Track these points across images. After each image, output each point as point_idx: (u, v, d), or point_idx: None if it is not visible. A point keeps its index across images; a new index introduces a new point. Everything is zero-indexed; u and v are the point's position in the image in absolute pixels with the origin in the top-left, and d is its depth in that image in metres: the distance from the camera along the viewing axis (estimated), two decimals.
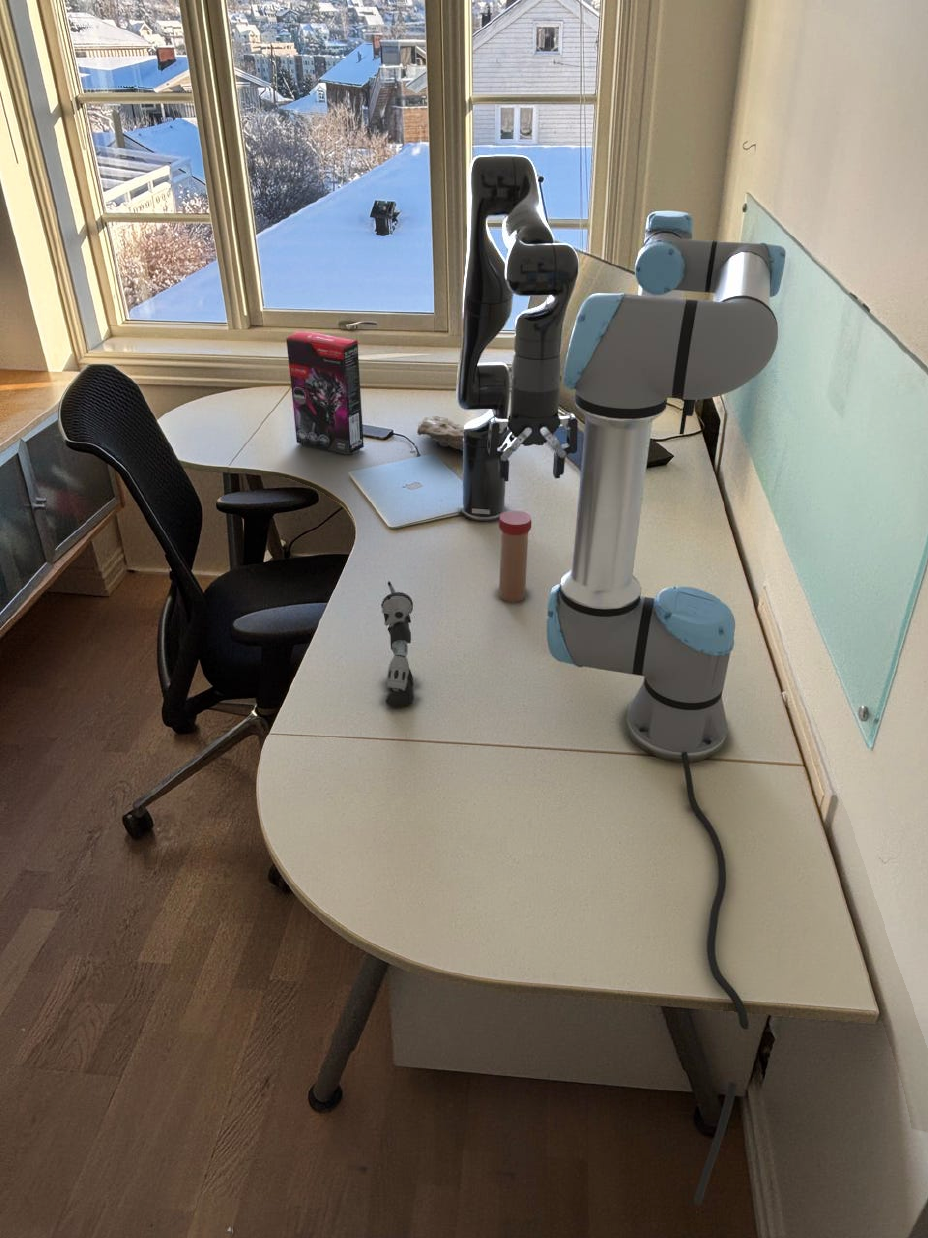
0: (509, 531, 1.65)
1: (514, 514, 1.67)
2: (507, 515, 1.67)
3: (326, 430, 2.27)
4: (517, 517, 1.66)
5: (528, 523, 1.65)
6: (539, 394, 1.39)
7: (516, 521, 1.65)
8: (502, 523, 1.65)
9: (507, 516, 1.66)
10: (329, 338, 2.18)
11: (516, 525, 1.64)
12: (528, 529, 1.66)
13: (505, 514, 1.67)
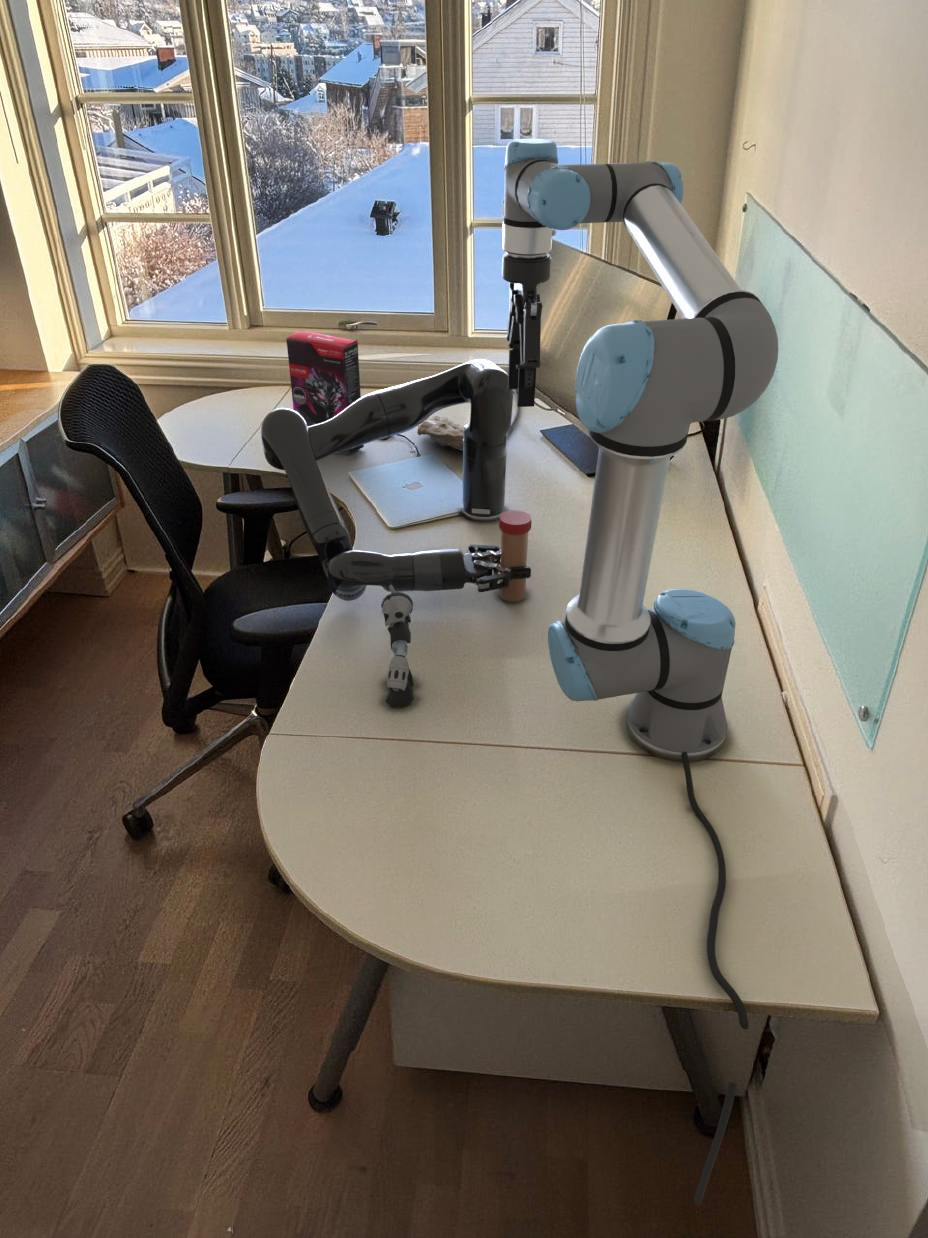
0: (509, 531, 1.65)
1: (514, 514, 1.67)
2: (507, 515, 1.67)
3: None
4: (517, 517, 1.66)
5: (528, 523, 1.65)
6: (440, 552, 1.68)
7: (516, 521, 1.65)
8: (502, 523, 1.65)
9: (507, 516, 1.66)
10: (329, 338, 2.18)
11: (516, 525, 1.64)
12: (528, 529, 1.66)
13: (505, 514, 1.67)
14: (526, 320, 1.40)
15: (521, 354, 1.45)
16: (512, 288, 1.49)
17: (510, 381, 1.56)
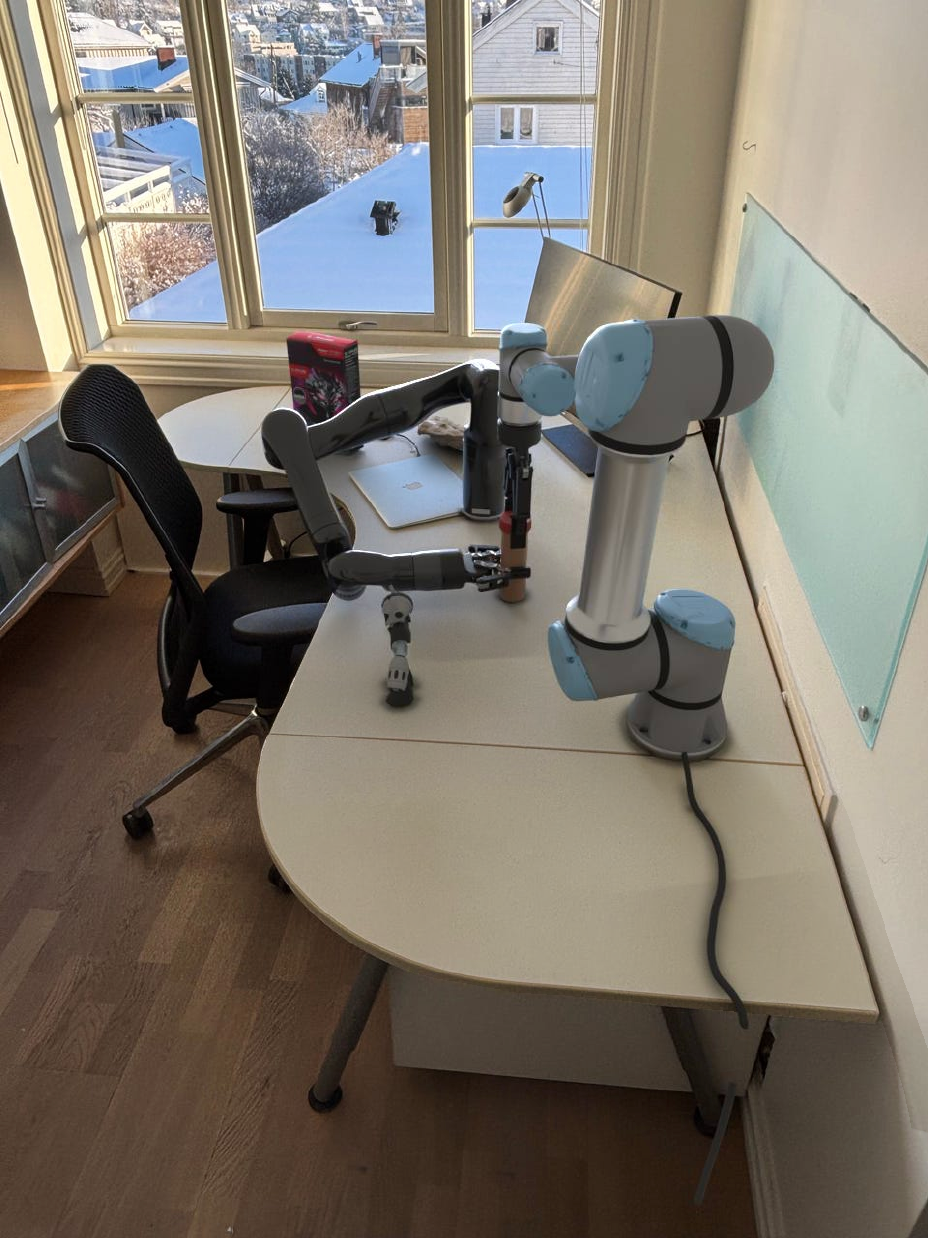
0: (509, 531, 1.65)
1: None
2: (507, 515, 1.67)
3: None
4: None
5: (528, 523, 1.65)
6: (440, 552, 1.68)
7: None
8: (502, 523, 1.65)
9: (507, 516, 1.66)
10: (329, 338, 2.18)
11: None
12: (528, 529, 1.66)
13: (505, 514, 1.67)
14: (518, 481, 1.55)
15: (513, 506, 1.60)
16: None
17: None
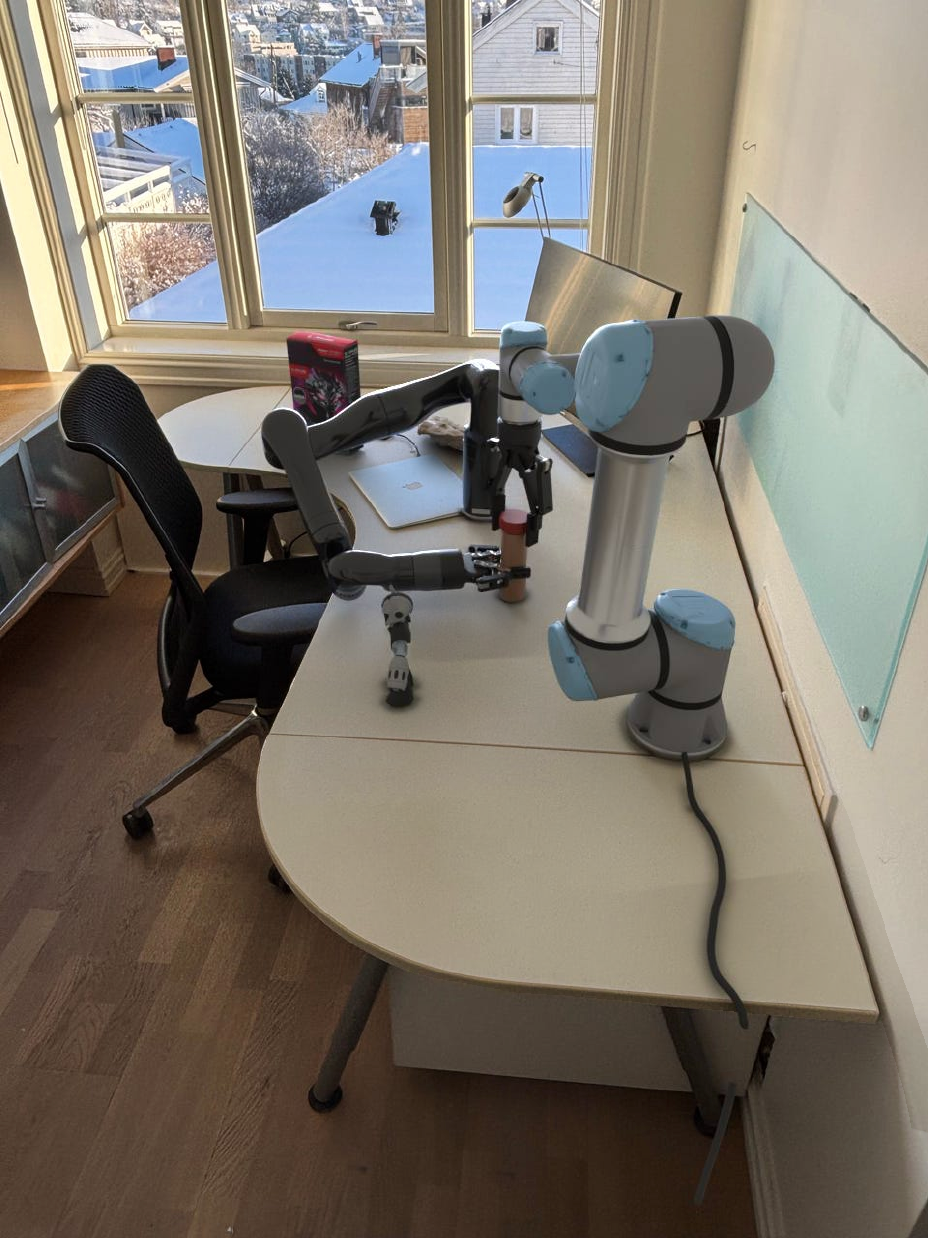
0: None
1: (509, 516, 1.66)
2: (511, 519, 1.65)
3: None
4: (515, 515, 1.66)
5: None
6: (440, 552, 1.68)
7: (524, 516, 1.66)
8: (523, 524, 1.64)
9: (513, 519, 1.65)
10: (329, 338, 2.18)
11: None
12: None
13: (508, 520, 1.65)
14: (542, 476, 1.56)
15: (532, 504, 1.60)
16: (491, 446, 1.62)
17: (495, 524, 1.69)
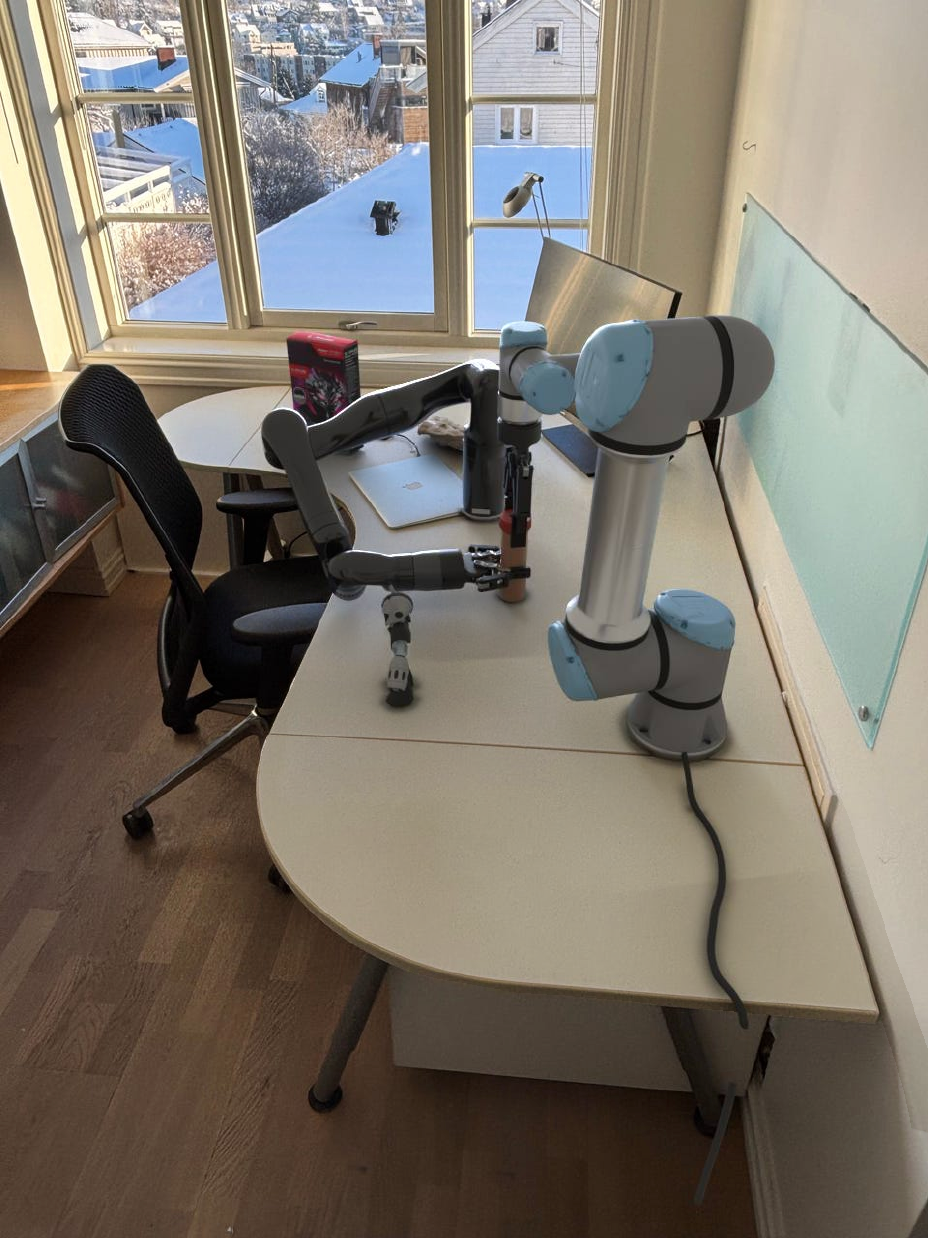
0: (529, 527, 1.66)
1: (509, 516, 1.66)
2: None
3: None
4: None
5: None
6: (440, 552, 1.68)
7: None
8: None
9: None
10: (329, 338, 2.18)
11: (530, 517, 1.66)
12: None
13: (508, 520, 1.65)
14: (519, 480, 1.55)
15: (514, 505, 1.60)
16: None
17: None
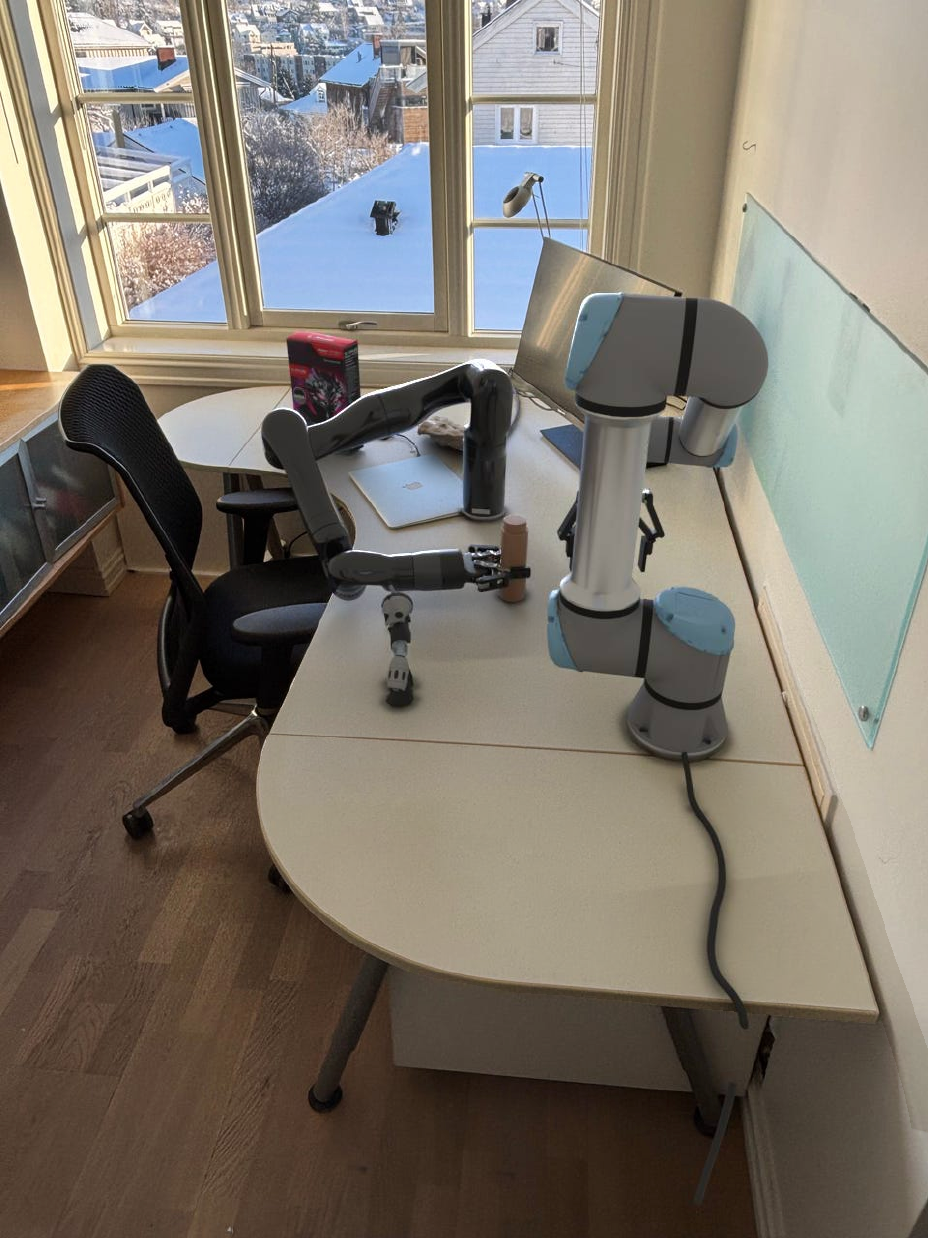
0: None
1: None
2: None
3: None
4: None
5: None
6: (440, 552, 1.68)
7: None
8: None
9: None
10: (329, 338, 2.18)
11: None
12: None
13: None
14: None
15: (648, 532, 1.72)
16: None
17: None
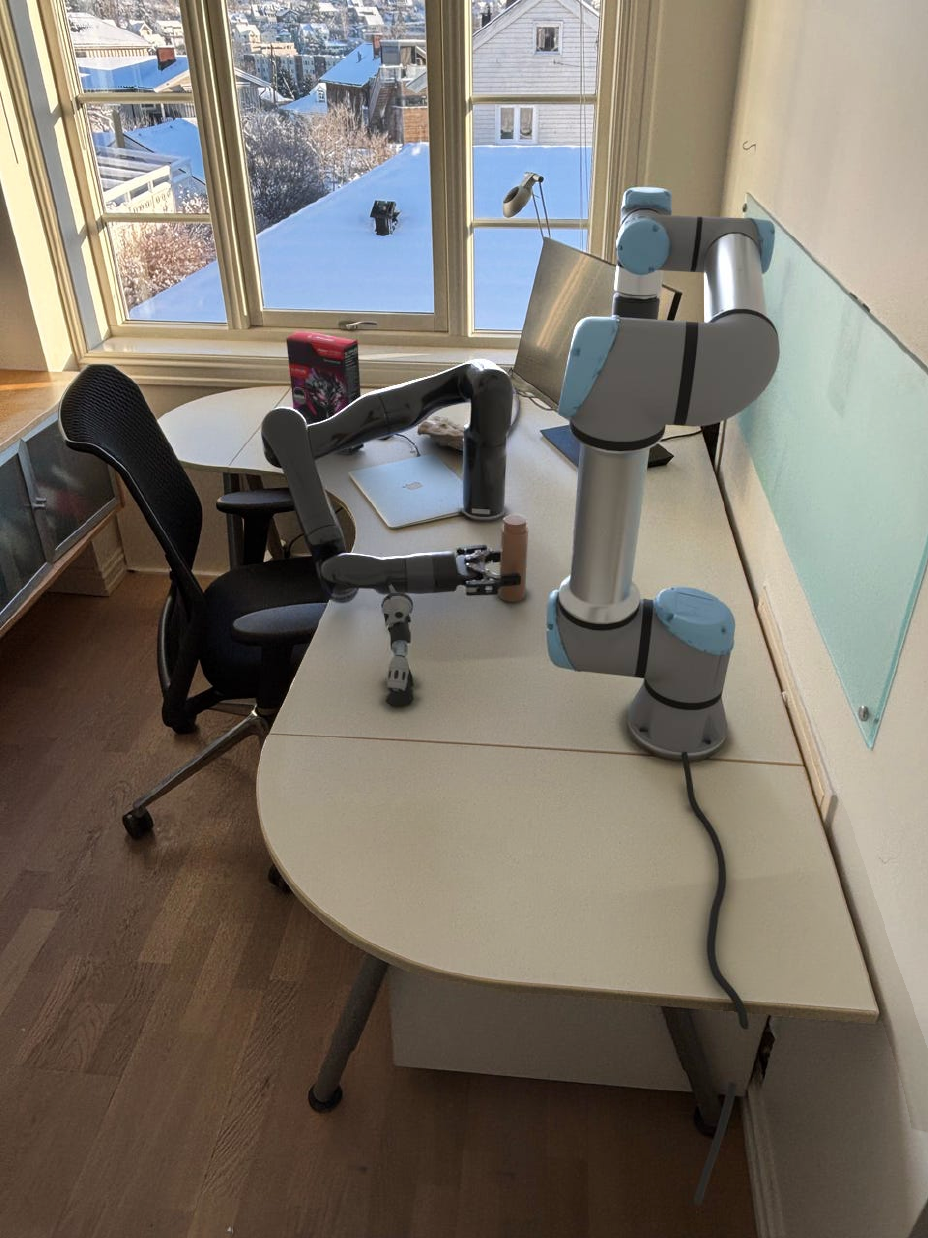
0: None
1: None
2: None
3: None
4: None
5: None
6: (433, 555, 1.68)
7: None
8: None
9: None
10: (329, 338, 2.18)
11: None
12: None
13: None
14: None
15: None
16: None
17: None
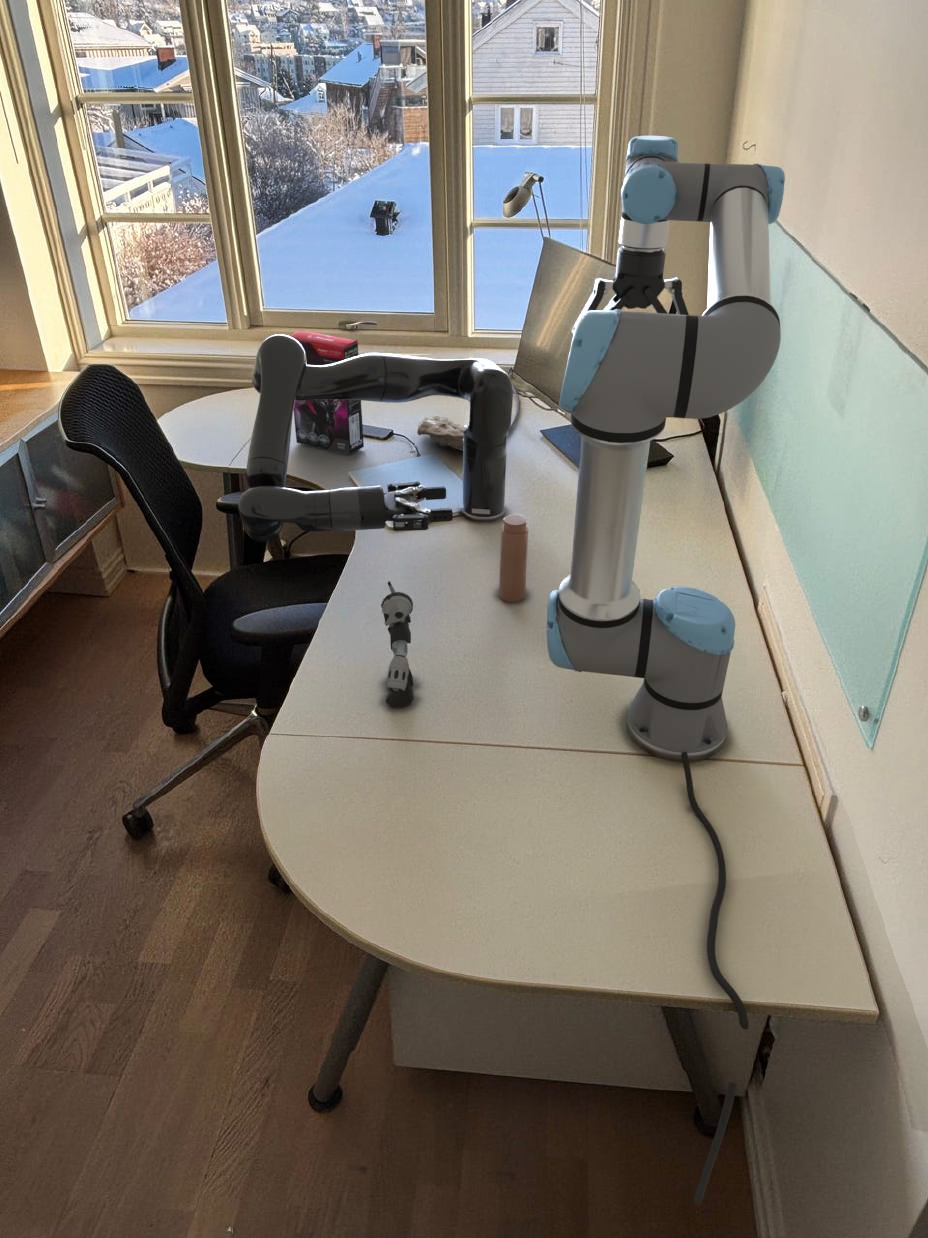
0: None
1: None
2: None
3: (326, 430, 2.27)
4: None
5: None
6: (359, 489, 1.59)
7: None
8: None
9: None
10: (329, 338, 2.18)
11: None
12: None
13: None
14: None
15: None
16: (604, 287, 1.47)
17: None
